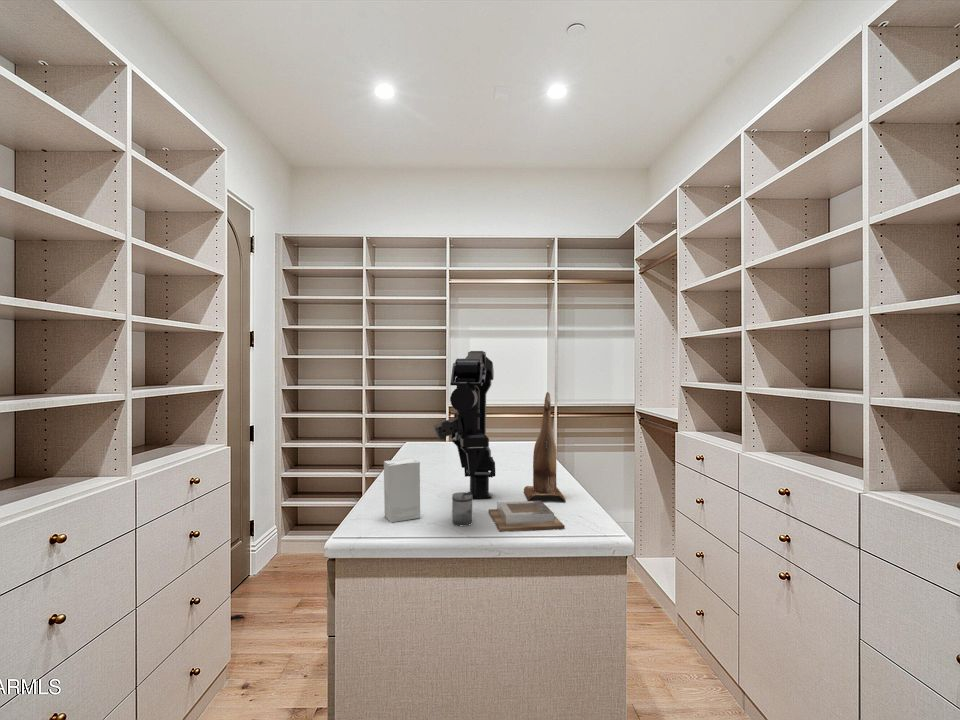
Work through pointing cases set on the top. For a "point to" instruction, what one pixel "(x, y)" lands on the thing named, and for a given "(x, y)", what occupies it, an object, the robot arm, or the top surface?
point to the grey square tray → (525, 513)
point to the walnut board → (503, 527)
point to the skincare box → (402, 489)
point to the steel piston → (462, 508)
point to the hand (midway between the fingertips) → (467, 471)
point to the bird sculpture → (544, 459)
